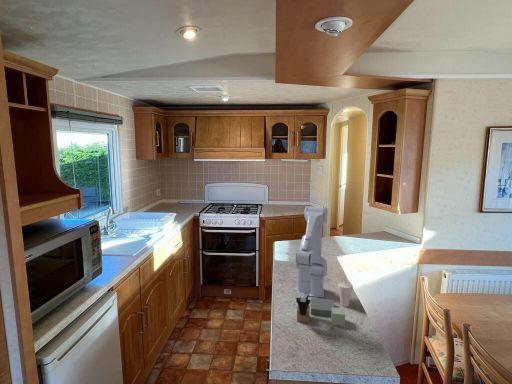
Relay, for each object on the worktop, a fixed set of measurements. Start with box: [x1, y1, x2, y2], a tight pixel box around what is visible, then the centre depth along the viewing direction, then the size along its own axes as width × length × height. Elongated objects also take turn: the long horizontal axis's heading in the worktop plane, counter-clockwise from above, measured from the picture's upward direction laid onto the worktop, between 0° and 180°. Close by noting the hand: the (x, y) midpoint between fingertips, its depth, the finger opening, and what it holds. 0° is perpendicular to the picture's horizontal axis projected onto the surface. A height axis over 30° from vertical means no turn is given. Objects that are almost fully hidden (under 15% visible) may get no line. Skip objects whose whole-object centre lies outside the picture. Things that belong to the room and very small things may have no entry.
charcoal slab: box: [310, 297, 336, 317], centre depth 138 cm, size 10×10×3 cm
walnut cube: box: [296, 304, 311, 324], centre depth 131 cm, size 5×5×5 cm
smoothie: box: [337, 274, 354, 308], centre depth 142 cm, size 6×6×14 cm
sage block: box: [330, 306, 346, 327], centre depth 128 cm, size 5×5×5 cm
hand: (303, 310), depth 131 cm, fingers open, 7 cm apart
